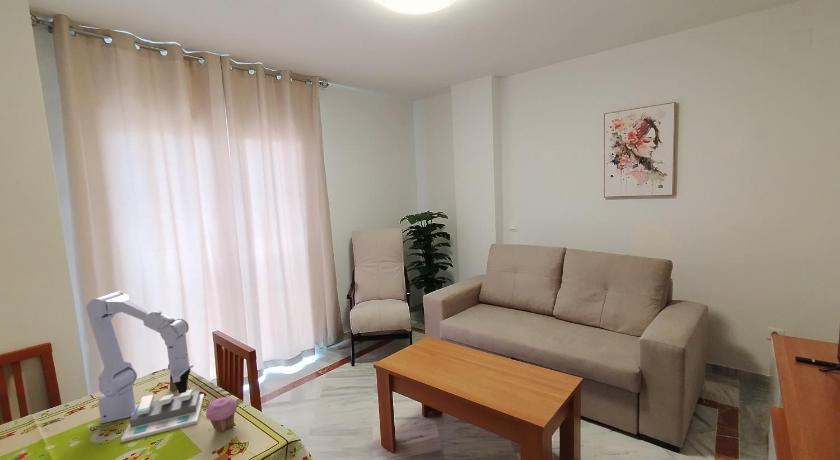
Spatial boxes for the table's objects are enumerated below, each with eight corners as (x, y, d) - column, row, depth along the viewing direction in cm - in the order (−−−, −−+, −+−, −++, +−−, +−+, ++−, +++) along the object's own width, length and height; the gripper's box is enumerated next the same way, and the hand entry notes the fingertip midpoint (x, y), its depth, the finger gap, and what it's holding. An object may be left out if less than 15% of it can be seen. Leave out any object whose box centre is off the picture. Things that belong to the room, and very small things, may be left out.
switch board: (121, 442, 118) (119, 432, 118) (137, 411, 135) (136, 402, 134) (197, 423, 127) (196, 413, 126) (204, 396, 143) (203, 387, 143)
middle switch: (157, 408, 127) (157, 402, 128) (163, 402, 135) (163, 395, 135) (169, 406, 129) (168, 399, 129) (174, 400, 136) (173, 393, 136)
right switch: (178, 404, 130) (178, 398, 130) (183, 397, 137) (182, 391, 137) (189, 402, 131) (188, 395, 131) (193, 395, 138) (192, 388, 139)
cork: (178, 391, 147) (175, 365, 146) (165, 390, 148) (162, 364, 147) (190, 383, 153) (187, 358, 152) (178, 382, 154) (175, 357, 153)
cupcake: (223, 438, 118) (219, 409, 117) (202, 434, 121) (198, 405, 119) (244, 421, 126) (241, 394, 125) (224, 417, 129) (221, 390, 128)
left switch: (137, 417, 126) (136, 412, 125) (143, 402, 133) (142, 396, 132) (149, 415, 127) (147, 409, 126) (154, 399, 134) (153, 394, 133)
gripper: (188, 361, 124) (192, 399, 126) (194, 344, 137) (199, 379, 139) (162, 366, 121) (168, 405, 123) (172, 349, 134) (176, 384, 136)
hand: (183, 391), depth 131 cm, fingers closed
